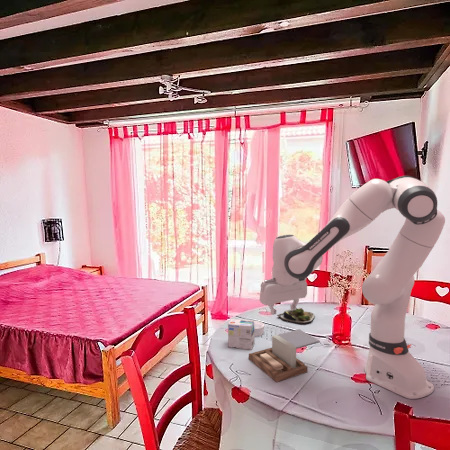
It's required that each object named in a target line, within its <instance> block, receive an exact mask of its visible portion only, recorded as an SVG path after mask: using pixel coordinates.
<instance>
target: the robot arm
mask: <svg viewBox="0 0 450 450" xmlns="http://www.w3.org/2000/svg"><path fill="white" fill-rule="evenodd" d="M391 209H396V210H397V211H398V212H399V214H401V215H402V216H403V217H404V218H405V221H404V223H403V225H402V227H401V228H400V229H399V232H398V234H397V236H396V237H395V239H394V240H393V242H392V243H391V245H390V247H389V249H388V251H387V252H386V253H385V254H384V255H383V257H382V258H381V259H380V260H379V262H378V263H377V264H376V266H375V267H374V269H372V271H371V272H370V274H369V275H368V276H367V277H366V278H365V279H364V280H363V282H362V284H361V292H362V295H363V297H364V298H365V300H366V301H368V302H369V303H371V304H373V308H372V310H371V314H370V332H369V333H368V345H369V349H368V355H367V360H366V363H365V365H364V372H365V374H366V375H365V379H366V381H368V382H371V383H372V384H375V385H378V386H380V387H382V388H384V389H386V390H389V392H392V393H395V394H397V395H399V396H401V397H404V398H406V399H410V400H411V399H412V400H415V399H416V400H417V399H421V398H424V397H427V396H429V395H431V394H432V393H434V390H435V387H434V384H433V383H432V382H430V381H429V380H427V373H426V370H425V368H424V367H423V366H422V364H420V362H419V361H418V360H417V359H416V358H415V357H414V356H413V355H412V353H411V352H410V351H409V349H410V348H412V343H411V344H407V340H406V338H405V327H406V318H407V317H406V315H407V311H408V308H409V303H410V299H411V293H412V289H413V288H414V285H415V277H414V275H415V274H416V273H417V272H418V270H419V269H421V268H422V266H423V265H424V263H425V261H426V260H427V258H428V257H429V255H430V253H431V252H432V251H433V249H434V247H435V245H436V243H437V242H438V240H439V238H440V236H441V234H442V231H443V229H444V226H445V223H446V218H445V215H444V214H443V213H442V212H441V211H440V210H439V209H438V198H437V195H436V193H435V191H433V189H431V188H430V186H429V185H427V184H426V183H425V182H423V181H422V180H420V179H418V178H416V177H414V176H412V175H402V176H398V177H396V178H392V179H389V180H387V181H386V180H384V179H380V178H372V179H371V180H369V181H367V182H366V183H364V184H363V185H362V186H360V187H359V188H358V189H356V190H355V191H353V193H352V194H351V195H349V196H348V197H347V198H346V199H345V200H344V201H343V203H342V204H341V205H340V206H339V207H338V208H337V210H336V212H335V213H334V215H333V216H332V217H331V218H330V220H329V221H328V222H327V223H326V225H324V227H323V228H322V229H321V230H320V231H319V232H317V234H316V235H315V236H314V237H312V239H311V240H309V241H308V242H304V241H302V240H300V239H299V238H298V237H296V235H294V234H284V235H279V236H277V237H276V238H275V239H274V241H273V246H272V261H273V265H272V273H271V274H272V276H271V277H272V278H270V279H264V280H263V281H262V283H260V293H259V301H260V303H261V304H262V305H265V306H268V307H269V309H270V314H271V315H273V316H274V315H277V309H275V308H274V307H275V304H279V303H284V302H290V301H293V302H292V304H290V307H289V310H296V308H297V305H298V304H299V300H300V299H305V298H306V297H307V295H308V283H307V278H308V277H309V276H310V275H311V274H312V273H313V272H315V270H316V269H318V268H319V267H320V266H321V264H322V263H323V256H324V255H325V254H326V253H327V252H328V251H329V250H331V248H333V247H334V246H335V245H336V244H338V243H339V242H340V241H342V240H344V239H346V238H348V237H350V236H352V235H354V234H356V233H358V232H359V231H362V230H363V229H365V228H366V227H367V226H368V225H370V224H371V223H372V222H374V221H375V220H376V219H377V218H378V217H379V216H380V215H381V214H382V213H384V212H386V211H387V210H391Z"/></svg>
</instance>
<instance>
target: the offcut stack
mask: <svg viewBox="0 0 450 450" xmlns="http://www.w3.org/2000/svg"><path fill="white" fill-rule="evenodd" d="M260 359H261V360H263V361H264V362H265V363H266V364H268V365H269V366H270V367H271V368H273V369H274V370H275V371H276V372H278V373H281V372H284V371H283V370H281V369H283V365H282V364H280V363H279V362H278V361H276V360H275V359H274V358H272V357H271V356H270V355H268V354H267V353H264V354H261V355H260Z"/></svg>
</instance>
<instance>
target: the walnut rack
mask: <svg viewBox="0 0 450 450" xmlns="http://www.w3.org/2000/svg"><path fill="white" fill-rule="evenodd" d="M264 353H267V354H268V355H270V356H271V357H272V358H274V359H275V360H276V361H278V362H279V363H280V364H282V365H283V369H281V370H282V371H283V372H281V373H278V372H276V371H275V370H274V369H273V368H271V367H270V366H269V365H268V364H266V363H265V362H264V361H263V360H261V359H260V355H261V354H264ZM248 360H249V361H251V362H254V365H255V366H257V367H258V368H260V370H261V371H262V372H264V373H265V374H266V375H267V374H268V376H269V378H271V379H272V380H273V381H275V382H276V383H278V382H281V381H284V380H287V379H290V378H294V377H296V376H299V375H302V374H303V375H304V374H305V373H308V366H307V365H305V364H306V363H305V362H303V361H302V360H300V359H299V358H297V357H296V368H294V369H292V367H290V366H289V365H288V364H286V363H285V362H283V361H282V360H281V359H279V358H278V357H277V356H275V355H274V354H273V353H272V347H270V348H269V347H268V348H265V349H262V350H258V351H254V352H251V353H248Z"/></svg>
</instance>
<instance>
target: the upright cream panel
mask: <svg viewBox="0 0 450 450" xmlns="http://www.w3.org/2000/svg"><path fill="white" fill-rule="evenodd" d="M278 335H279V334H275V335H272V336H271V345H272V347H271V348H272V353H273V354H274V355H275V356H277V357H278V358H279V359H281V360H282V361H283V362H285V363H286V364H288V365H289V366H290V367H292V369H294V368H297V367H296V358H297V349H296V346H294V345H293V344H291V343H289V342H288V341H286V340H285V339H283V338H282V337H280V336H278Z"/></svg>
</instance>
